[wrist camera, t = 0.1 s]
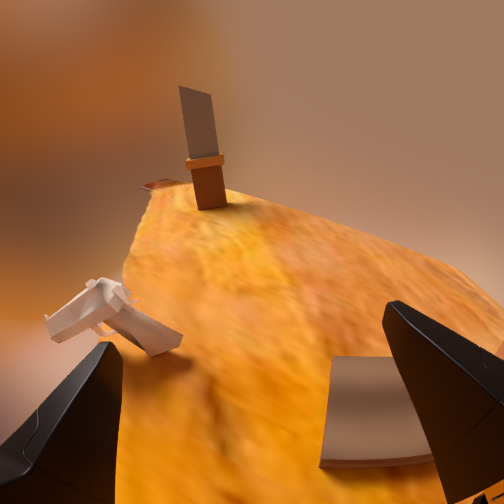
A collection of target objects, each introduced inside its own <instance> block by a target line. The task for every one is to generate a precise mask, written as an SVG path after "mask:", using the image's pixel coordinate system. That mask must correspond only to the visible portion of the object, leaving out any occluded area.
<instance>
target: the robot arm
mask: <svg viewBox="0 0 504 504" xmlns="http://www.w3.org/2000/svg"><path fill="white" fill-rule="evenodd" d="M382 326H383V329H384V332H385V335H386V338H387V341H388V343H389V346H390V349H391V352H392V355H393V358H394V361H395V364H396V366H397V369H398V371H399V373H400V375H401V378H402V380H403V382H404V384H405V387H406V389H407V391H408V394H409V396H410V398H411V401H412V403H413V406H414V408H415V410H416V413H417V415H418V418H419V420H420V423H421V426H422V428H423V431H424V433H425V436H426V439H427V441H428V444H429V447H430V450H431V453H432V455H433V458H434V461H435V465H436V468H437V471H438V474H439V477H440V480H441V483H442V487H443V490H444V493H445V497H446V500H447V504H455V503H457V502H459V501H462V500H464V499H466V498H469V497H471V496H473V495H475V494H477V493H479V492H481V491H484V492H483V493H482V494H481V495H479V496H478V497H476V498H475V499H474V501H473V503H472V504H504V360H503V359H501V358H499V357H497V356H495V355H493V354H492V353H490V352H488V351H486V350H485V349H483V348H481V347H479V346H478V345H476V344H475V343H473V342H471V341H469V340H468V339H466V338H464V337H463V336H461V335H459V334H457V333H456V332H454V331H452V330H451V329H449V328H447V327H445V326H444V325H442V324H440V323H438V322H437V321H435V320H433V319H431V318H430V317H428V316H426V315H424V314H423V313H421V312H419V311H417V310H415V309H414V308H412V307H410V306H408V305H406V304H405V303H403V302H401V301H399V300H396V301H392V302H388V303H387V304H386V307H385V312H384V316H383V320H382ZM122 379H123V359H122V357H121V355H120V353H119V352H118V350H117V348H116V347H115V345H114V344H113V343H112V342H110V341H109V342H100V343H99V344H98V345H97V346H96V347H95V348H94V349H93V350H92V351H91V352H90V353H89V354H88V355H87V356H86V357H85V359H83V360H82V362H80V363H79V365H77V367H76V368H75V369H74V370H73V371H72V372H71V373H70V374H69V375H68V376H67V377H66V378H65V379H64V380H63V381H62V382H61V383H60V384H59V386H58V387H57V388H56V389H55V390H54V391H53V392H52V393H51V394H50V395H49V396H48V397H47V398H46V400H45V401H44V402H43V403H42V404H41V405H40V406H39V408H38V409H36V410H35V412H34V413H33V414H32V415H31V416H30V417H29V418H28V419H27V420H26V421H25V422H24V423H23V424H22V425H21V426H20V427H19V428H18V429H17V430H16V432H14V433H13V434H12V435H11V436H10V437H9V438H8V439H7V440H6V441H5V442H4V443H3V444H2V445H1V446H0V504H115V473H116V455H117V442H118V431H119V422H120V413H121V404H122Z"/></svg>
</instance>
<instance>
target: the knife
mask: <svg viewBox="0 0 504 504" xmlns="http://www.w3.org/2000/svg"><path fill="white" fill-rule="evenodd" d="M179 91H180V99H181V105H182V112H183V119H184V125H185V132H186V137H187V144H188V150H189V156H190V158H188V159H187V160H186V168H187V170H191V174H192V179H193V185H194V190H195V196H196V201H197V206H198V210H204V209H211V208H218V207H226V206H227V200H226V193H225V187H224V180H223V173H222V166H221V165H223V164H224V155H223V153H219V150H218V143H217V136H216V129H215V122H214V114H213V107H212V100H211V95H210V94H207V93H203V92H200V91H196V90H193V89H189V88H185V87H182V86H179Z"/></svg>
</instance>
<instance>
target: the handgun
mask: <svg viewBox="0 0 504 504" xmlns="http://www.w3.org/2000/svg"><path fill="white" fill-rule="evenodd" d="M85 284H86V286H87V289H85V290H84V291H82V292H81V293H80V294H78V295H77V296H76V297H75V298H73V299H72V300H71V301H70V302H69V303H68V304H66V305H65V306H64V307H62V308H61V309H60V310H59V311H57V312H56V313H55V314H54V315H52V316H51V317H48V316H47V315H46V314H45V315H44V317H45V318H46V322H45V324H46V326H47V329H48V331H49V333H50V336H51V339H52V340H54V341H56V342H57V343H61V342H63V341H65V340H67V339H69V338H71V337H73V336H75V335H77V334H79V333H80V332H83V331H84V330H86V329H88V328H91V329H92V330H93V331H95V332H96V333H97V334H99V335H100V336H103V337H107V336H109V335H112V334H115V333H117V332H118V333H119V334H121V335H122V336H123V337H125V338H126V339H128V340H129V341H131V342H132V343H134V344H135V345H137V346H138V347H140V348H141V349H143V350H144V351H146V353H147V354H148V355H149V356H154V355H157V354H160V353H163V352H166V351H168V350H171V349H174V348H177V347H179V345H180V342H181V340H182V337H183V335H182V334H180V333H178V332H176V331H174V330H172V329H171V328H169V327H167V326H165V325H163V324H161V323H159V322H158V321H156V320H154V319H152V318H150V317H149V316H147V315H145V314H143V313H142V312H140V311H138V310H136V309H135V308H133V307H131V306H130V304H131V303H135V302H138V301H140V300H128V298H129V297H130V295H131V294H132V293H131V292H130V291H129V290H128V289H127V288H126V287H125V286H124V285H123V284H121V283H119V282H115V281H113V280H110V279H107V278H104V277H101V278H100V279H99V280H97V281H95V280H93V279H90V280H89V281H88V282H87V283H85ZM127 300H128V301H127ZM102 321H103V322H104V323H105V324H107V325H108V326H110V327H111V328H112V329H114V330H112V331H109V332H108V331H105V330H102V329H101V328H100V327H99V326H97V325H96V324H98V323H100V322H102Z"/></svg>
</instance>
